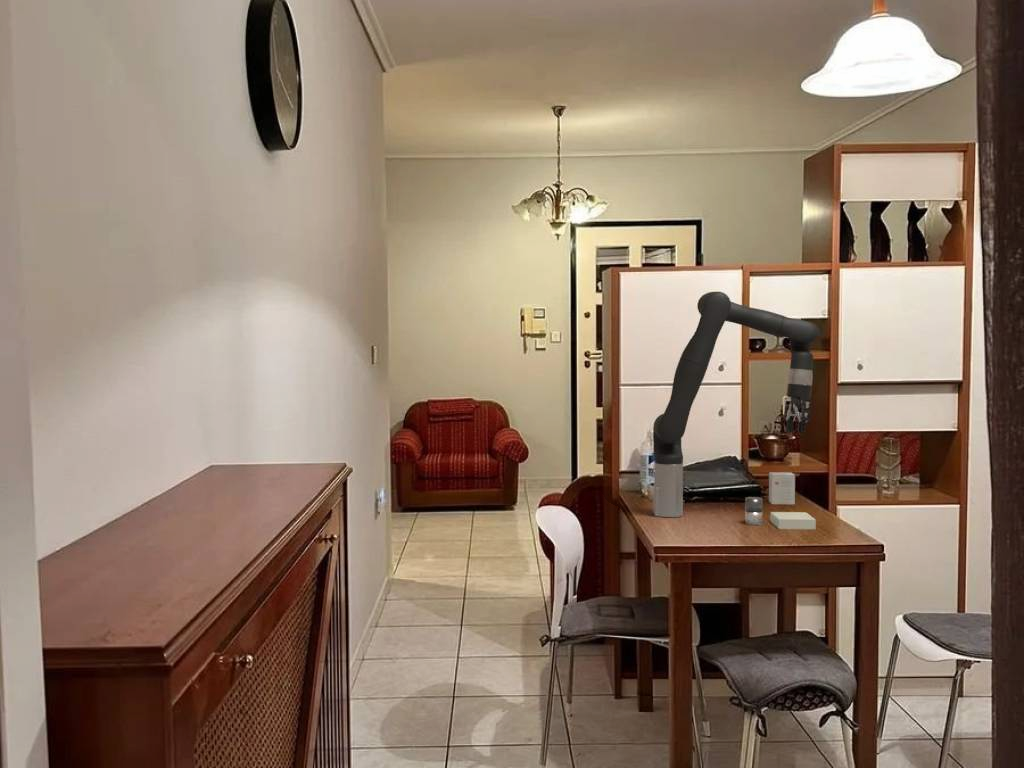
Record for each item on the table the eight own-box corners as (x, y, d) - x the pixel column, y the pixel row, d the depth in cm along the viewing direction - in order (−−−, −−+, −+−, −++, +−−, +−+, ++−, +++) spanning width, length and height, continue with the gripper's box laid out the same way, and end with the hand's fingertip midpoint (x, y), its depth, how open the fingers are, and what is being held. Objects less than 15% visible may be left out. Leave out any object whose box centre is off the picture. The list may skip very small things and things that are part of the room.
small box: (791, 501, 319) (792, 472, 319) (795, 504, 314) (795, 474, 313) (768, 501, 320) (768, 471, 320) (771, 504, 315) (771, 474, 314)
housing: (746, 525, 281) (747, 499, 281) (743, 521, 286) (743, 496, 286) (763, 525, 281) (764, 500, 280) (760, 522, 286) (760, 496, 285)
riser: (778, 529, 276) (779, 519, 276) (770, 521, 287) (770, 512, 286) (815, 529, 275) (815, 519, 275) (805, 521, 286) (805, 512, 286)
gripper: (779, 382, 302) (775, 430, 302) (798, 382, 288) (793, 433, 288) (801, 384, 303) (796, 432, 303) (820, 384, 289) (816, 435, 289)
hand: (795, 433), depth 295 cm, fingers open, 8 cm apart
